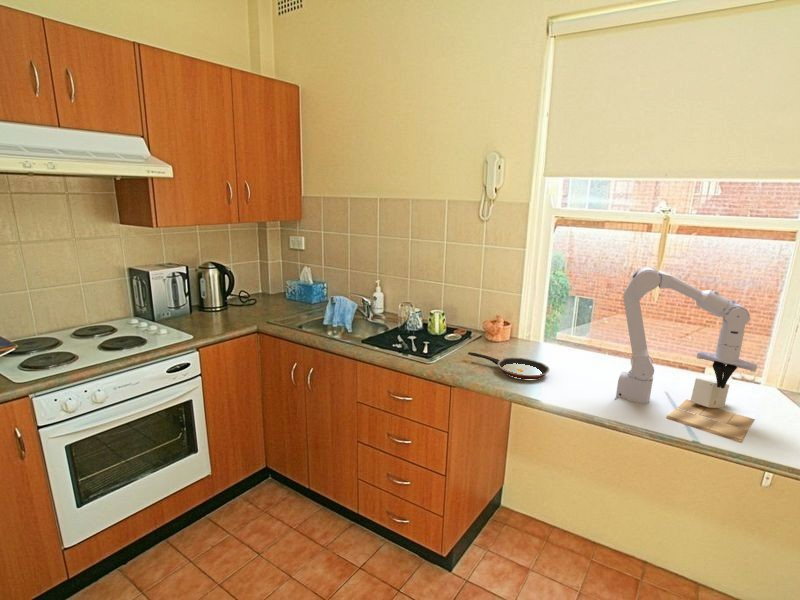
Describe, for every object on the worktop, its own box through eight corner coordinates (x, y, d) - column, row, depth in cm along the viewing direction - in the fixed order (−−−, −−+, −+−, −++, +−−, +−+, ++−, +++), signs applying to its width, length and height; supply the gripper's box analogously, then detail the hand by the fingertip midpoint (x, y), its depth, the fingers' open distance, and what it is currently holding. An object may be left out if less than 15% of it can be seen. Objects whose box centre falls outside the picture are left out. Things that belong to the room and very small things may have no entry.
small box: (711, 379, 146) (695, 377, 141) (730, 384, 142) (715, 382, 136) (705, 403, 147) (689, 401, 141) (724, 409, 142) (708, 407, 136)
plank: (665, 419, 132) (666, 416, 132) (675, 411, 139) (676, 408, 139) (739, 444, 119) (740, 440, 119) (747, 434, 126) (748, 430, 126)
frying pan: (540, 388, 154) (541, 378, 154) (457, 367, 172) (457, 358, 171) (554, 372, 170) (555, 363, 169) (477, 354, 187) (477, 346, 186)
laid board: (676, 411, 139) (677, 407, 139) (685, 402, 146) (686, 399, 146) (747, 434, 127) (748, 429, 126) (754, 423, 133) (755, 419, 133)
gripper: (762, 347, 129) (753, 391, 132) (704, 336, 139) (697, 376, 142) (758, 352, 124) (748, 397, 127) (698, 340, 135) (690, 382, 138)
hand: (720, 387), depth 134 cm, fingers closed
